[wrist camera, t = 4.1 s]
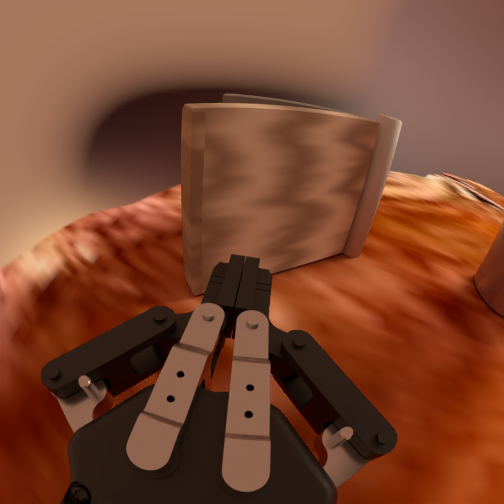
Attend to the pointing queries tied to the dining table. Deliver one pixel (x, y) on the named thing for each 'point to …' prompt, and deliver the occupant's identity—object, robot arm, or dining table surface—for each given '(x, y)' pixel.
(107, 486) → the robot arm
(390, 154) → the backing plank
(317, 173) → the ash plank
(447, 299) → the dining table surface
